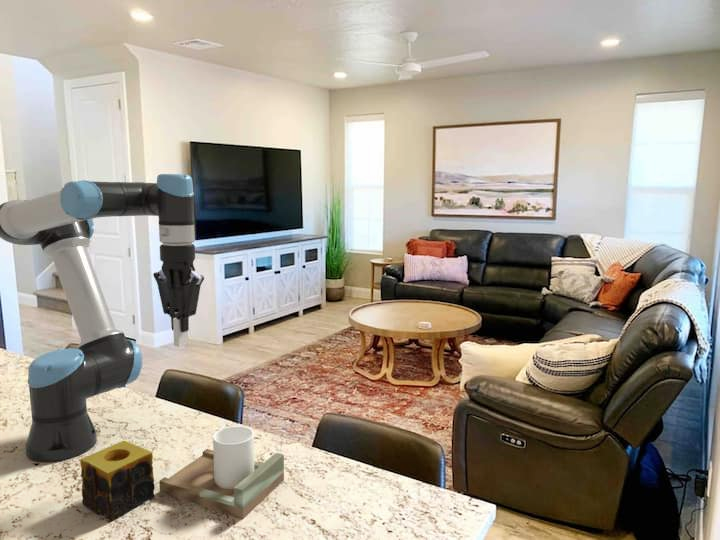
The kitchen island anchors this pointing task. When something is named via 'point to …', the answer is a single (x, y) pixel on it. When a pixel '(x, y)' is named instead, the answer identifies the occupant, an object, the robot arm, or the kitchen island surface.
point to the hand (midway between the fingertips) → (180, 344)
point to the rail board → (202, 489)
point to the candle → (117, 479)
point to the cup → (233, 456)
